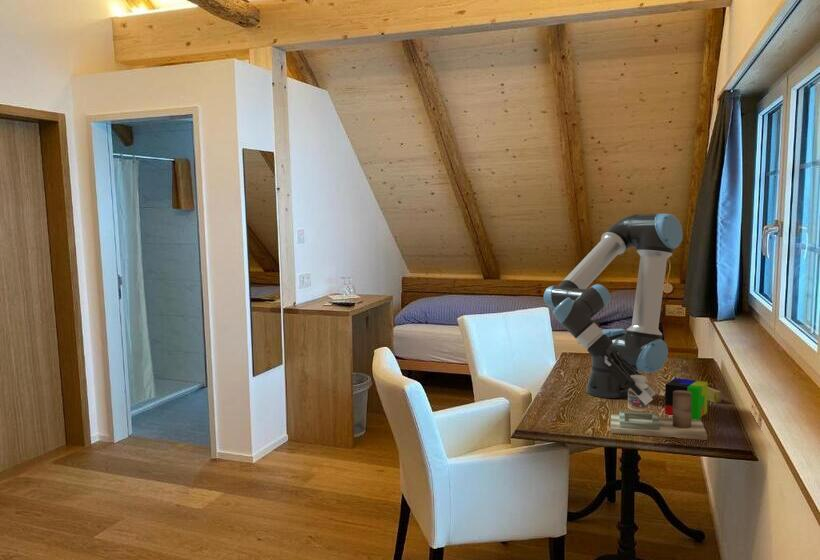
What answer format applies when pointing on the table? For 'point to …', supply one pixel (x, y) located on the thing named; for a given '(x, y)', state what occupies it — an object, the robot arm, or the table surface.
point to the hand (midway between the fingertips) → (650, 399)
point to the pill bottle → (633, 400)
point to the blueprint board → (662, 421)
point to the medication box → (714, 395)
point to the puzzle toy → (698, 396)
